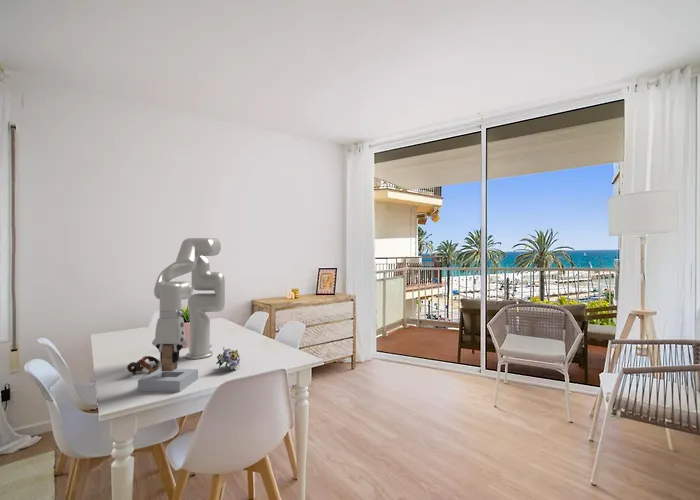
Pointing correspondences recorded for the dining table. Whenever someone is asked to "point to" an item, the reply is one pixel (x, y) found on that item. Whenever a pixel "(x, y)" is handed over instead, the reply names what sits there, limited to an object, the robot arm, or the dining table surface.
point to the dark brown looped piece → (144, 364)
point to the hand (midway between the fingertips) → (169, 361)
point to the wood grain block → (168, 358)
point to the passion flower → (229, 359)
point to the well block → (168, 380)
